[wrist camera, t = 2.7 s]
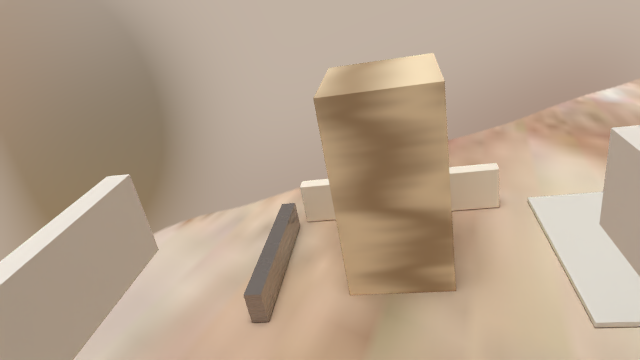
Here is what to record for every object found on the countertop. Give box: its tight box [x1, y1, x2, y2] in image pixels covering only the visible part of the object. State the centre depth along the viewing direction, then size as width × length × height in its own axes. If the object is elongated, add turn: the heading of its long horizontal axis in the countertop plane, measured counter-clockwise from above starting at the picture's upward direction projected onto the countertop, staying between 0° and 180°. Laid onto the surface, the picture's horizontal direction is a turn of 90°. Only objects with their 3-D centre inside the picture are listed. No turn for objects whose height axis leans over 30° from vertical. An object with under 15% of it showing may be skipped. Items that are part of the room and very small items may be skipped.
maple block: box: [314, 53, 456, 295], centre depth 26 cm, size 6×6×12 cm
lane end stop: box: [244, 203, 300, 322], centre depth 30 cm, size 1×10×2 cm, turn 172°
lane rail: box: [300, 163, 499, 222], centre depth 33 cm, size 14×1×3 cm, turn 82°
